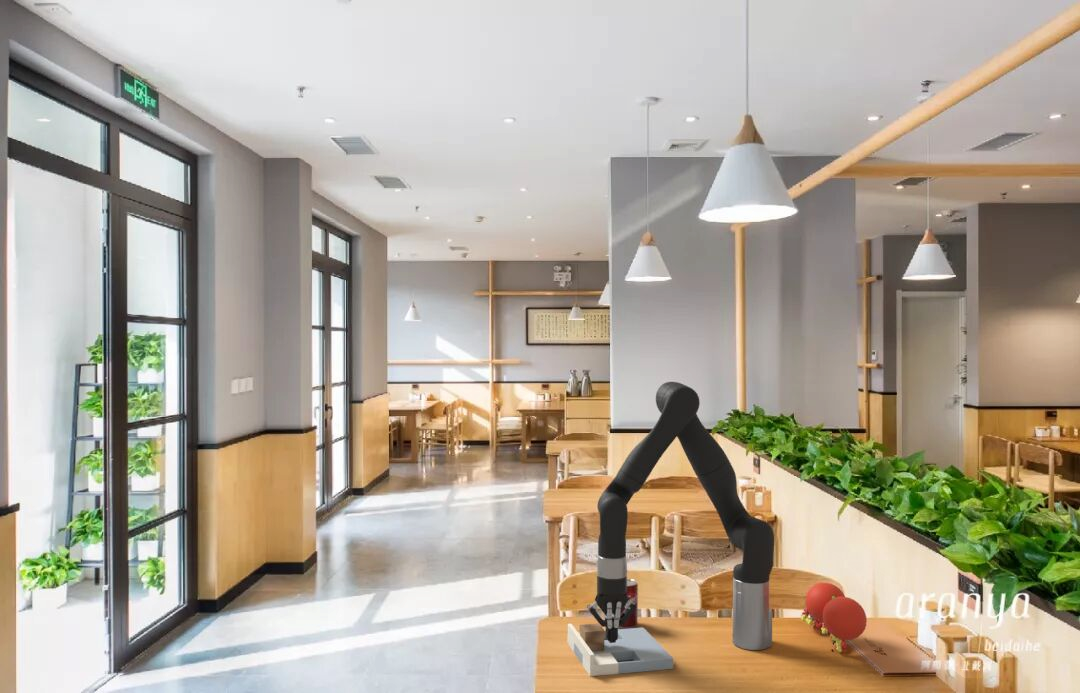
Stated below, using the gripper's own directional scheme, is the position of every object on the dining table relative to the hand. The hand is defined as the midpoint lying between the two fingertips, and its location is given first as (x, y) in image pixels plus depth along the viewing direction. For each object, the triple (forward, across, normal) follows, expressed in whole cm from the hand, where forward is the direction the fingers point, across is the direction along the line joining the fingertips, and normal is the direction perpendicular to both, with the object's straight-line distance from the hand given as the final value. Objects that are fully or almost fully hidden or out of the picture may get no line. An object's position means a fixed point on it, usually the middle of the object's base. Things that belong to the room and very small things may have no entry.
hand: (611, 641), depth 198 cm
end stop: (+1, +8, 0) cm, 8 cm away
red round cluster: (+4, -60, +3) cm, 60 cm away
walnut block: (+1, +5, 0) cm, 5 cm away
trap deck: (+4, -2, 0) cm, 4 cm away
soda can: (+4, -10, -20) cm, 23 cm away
